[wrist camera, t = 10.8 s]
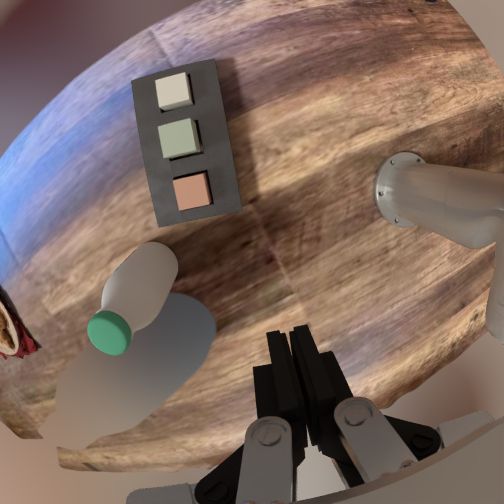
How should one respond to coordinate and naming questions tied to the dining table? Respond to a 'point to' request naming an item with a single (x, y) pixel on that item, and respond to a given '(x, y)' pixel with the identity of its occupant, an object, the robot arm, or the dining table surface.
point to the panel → (214, 158)
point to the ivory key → (174, 92)
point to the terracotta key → (192, 191)
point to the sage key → (179, 138)
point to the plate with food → (13, 335)
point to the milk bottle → (133, 297)
